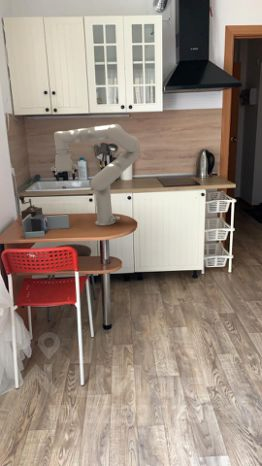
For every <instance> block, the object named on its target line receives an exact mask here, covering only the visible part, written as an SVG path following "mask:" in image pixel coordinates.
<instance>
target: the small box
mask: <svg viewBox="0 0 262 466" xmlns="http://www.w3.org/2000/svg"><path fill="white" fill-rule="evenodd" d="M47 216H48V214H43V215H39V214H38V215H36V216H34V217H32V218H31V219H30V220H31V227H32V232H39V231H44V234H45V235H46V233H47V232H48V231H50V229H48V222H47Z"/></svg>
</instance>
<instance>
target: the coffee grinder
mask: <svg viewBox="0 0 262 466" xmlns="http://www.w3.org/2000/svg"><path fill="white" fill-rule="evenodd" d="M18 199H19V200H20V203H21V205H26V204H29V206H28V207H26V208H25V209H23V210H22V211H20V214H21V218H22V220H23V219H25V218H26V217H27V216H28V215H29V214H31V217H34V216H36V215H38V214H39V215H44V213H43V207H38V206H35V205H34V204H32V199H31V198H29V199H28V201H26V200H25V196H24V195H20V196H19V197H18ZM22 220H21V221H22Z"/></svg>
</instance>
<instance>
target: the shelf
mask: <svg viewBox="0 0 262 466" xmlns="http://www.w3.org/2000/svg"><path fill="white" fill-rule="evenodd" d="M31 218H32V217H31V214H29V215H28V216H27V217H26V218H25V219H23V220H21V222H20V223H21V229H22V235H23V239H28V238H29V239H30V238H44V237H45V235H46V233H45V234H44V231H39V232H32V227H31V220H30V219H31ZM47 222H48V230H57V229H58V230H59V229H60V228H61V229H70V227H71V225H70V220H69V215H68V214H65V215H64V214H62V215H49V216H48V215H47Z"/></svg>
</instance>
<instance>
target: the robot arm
mask: <svg viewBox="0 0 262 466" xmlns="http://www.w3.org/2000/svg"><path fill="white" fill-rule="evenodd" d="M53 136H54V137H53V138H54V145H55V153H56V155H55V156H54V157H55V158H54V159H55V164H54V165H52V166H51V167H50V171H51V172H52V173H53V174H54V175H55V179H56V181H57V182H59V181H60V175H59V172H60V173H61V172H71V174H72V181H75V179H76V173H77V171H78V169H79V165H77V164H75V163H73V159H72V154H71V153H72V149H70V148H69V144H75V143H80V142H88V141H89V142H90V141H91V142H92V141H93V142H102V141H113V143H114V144H116V145H117V146H119V147H120V148H121V149H122V150H124V151H123V152H122V153H121V154H120V155H119V156H118V157H117V158H115V159H114V160H113V161H112V162H110V163H108V164H107V165H106V166H105V167H103V168H102V169H101V170H100V171H99V172H98V173H96V174H95V175H94V176H93V177H92V178H91V180H90V186H91V188H92V189H93V190H94V195H95V197H94V199H95V207H96V217H97V220H96V221H95V225H96V226H110V225H111V226H112V225H113V224H115V223H116V220H117V221H119V220H120V219H121V217H120V216H118V215H115V216H114V214H113V208H112V207H113V206H112V198H111V197H112V196H111V195H112V193H111V184H113V183H114V182H115V181H116V180H117V179H118V178H119V177H121V175H122V174H123V173H124V172H125V171H126V170H127V169H128V168H129V167H131V166H132V165H133V164H134V163H135V162H136V160H137V159H138V158H139V155H140V152H141V144H140V140H139V139H138V138H137V137H136V136H135V135H131V134H129V133H128V132H126V130H124V129H123V127H122V126H121V125H120V124H118V123H114V124H112V123H111V124H103V125H95V126H92V127H86V128H77V129H70V130H67V131H65V130H61V131H60V130H59V131H55V132H54V133H53ZM74 167H75V169H74ZM54 168H55V169H54Z"/></svg>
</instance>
